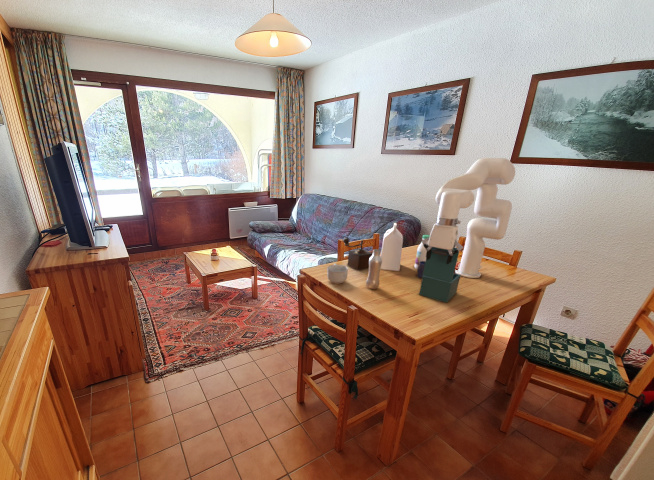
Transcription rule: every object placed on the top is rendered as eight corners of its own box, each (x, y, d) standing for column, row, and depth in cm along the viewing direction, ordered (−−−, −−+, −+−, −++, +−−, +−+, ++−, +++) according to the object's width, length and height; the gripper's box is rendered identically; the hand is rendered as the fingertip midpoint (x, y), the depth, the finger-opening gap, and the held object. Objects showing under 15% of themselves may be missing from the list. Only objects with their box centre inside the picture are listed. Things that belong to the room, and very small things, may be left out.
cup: (421, 273, 176) (423, 260, 173) (431, 277, 171) (434, 263, 168) (414, 275, 173) (416, 262, 170) (424, 279, 168) (427, 265, 165)
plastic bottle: (378, 286, 160) (384, 249, 152) (378, 291, 154) (383, 253, 146) (366, 284, 162) (370, 247, 154) (365, 289, 156) (369, 251, 148)
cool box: (429, 285, 160) (433, 268, 156) (456, 293, 152) (460, 274, 148) (419, 294, 150) (422, 276, 147) (446, 302, 142) (451, 283, 139)
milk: (399, 270, 180) (406, 227, 170) (378, 268, 184) (384, 225, 174) (399, 264, 191) (405, 222, 181) (379, 262, 194) (385, 221, 184)
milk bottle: (429, 267, 186) (435, 235, 178) (426, 271, 180) (433, 237, 172) (415, 265, 190) (421, 233, 182) (412, 268, 184) (418, 236, 176)
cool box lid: (429, 243, 141) (425, 245, 137) (460, 248, 133) (456, 250, 129) (423, 275, 147) (418, 277, 143) (451, 282, 139) (448, 285, 135)
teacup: (346, 286, 160) (348, 271, 157) (325, 284, 162) (326, 270, 159) (346, 276, 172) (348, 263, 169) (327, 275, 174) (328, 261, 171)
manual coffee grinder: (360, 262, 194) (363, 234, 187) (371, 268, 185) (375, 238, 178) (339, 266, 188) (341, 237, 181) (350, 272, 179) (353, 241, 172)
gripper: (472, 223, 126) (462, 263, 133) (428, 217, 137) (421, 255, 144) (466, 226, 121) (456, 268, 128) (421, 220, 132) (414, 259, 139)
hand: (438, 261), depth 136 cm, fingers open, 7 cm apart
